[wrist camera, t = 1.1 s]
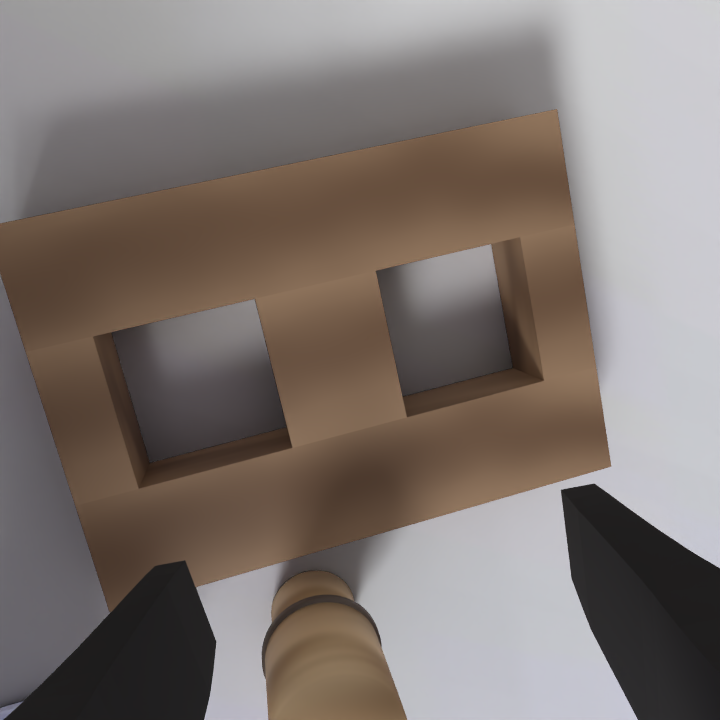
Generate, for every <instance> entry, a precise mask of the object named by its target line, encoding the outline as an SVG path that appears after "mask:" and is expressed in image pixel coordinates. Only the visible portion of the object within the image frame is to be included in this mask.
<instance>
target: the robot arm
mask: <svg viewBox="0 0 720 720" xmlns="http://www.w3.org/2000/svg"><path fill="white" fill-rule="evenodd" d="M561 494H562V502H563V511H564V519H565V527H566V535H567V544H568V552H569V560H570V569H571V577H572V581H573V583H574V586H575V589H576V591H577V594H578V597H579V599H580V602H581V605H582V607H583V610H584V613H585V615H586V618H587V620H588V623H589V625H590V628H591V630H592V632H593V634H594V636H595V638H596V640H597V642H598V644H599V646H600V648H601V650H602V652H603V654H604V655H605V657H606V659H607V661H608V663H609V665H610V667H611V669H612V671H613V673H614V675H615V677H616V679H617V680H618V682H619V684H620V686H621V688H622V690H623V692H624V694H625V696H626V698H627V700H628V701H629V703H630V705H631V707H632V709H633V711H634V713H635V715H636V717H637V719H638V720H720V568H718V567H716V566H715V565H713V564H711V563H710V562H708V561H706V560H705V559H703V558H701V557H699V556H698V555H696V554H694V553H693V552H691V551H690V550H688V549H687V548H685V547H684V546H682V545H681V544H679V543H678V542H676V541H675V540H673V539H672V538H670V537H669V536H667V535H666V534H664V533H663V532H661V531H659V530H658V529H657V528H655V527H654V526H652V525H651V524H649V523H648V522H647V521H645V520H644V519H642V518H641V517H640V516H638V515H637V514H635V513H634V512H633V511H631V510H630V509H629V508H627V507H626V506H624V505H623V504H622V503H620V502H619V501H618V500H616V499H615V498H614V497H612V496H611V495H610V494H608V493H607V492H605V491H604V490H603V489H601V488H600V487H598V486H597V485H595V484H590V485H584V486H579V487H574V488H568V489H563V490H561ZM215 649H216V640H215V637H214V634H213V632H212V629H211V627H210V624H209V621H208V619H207V616H206V613H205V611H204V608H203V606H202V603H201V600H200V598H199V595H198V592H197V590H196V587H195V584H194V582H193V579H192V577H191V574H190V571H189V569H188V566H187V563H186V561H185V560H184V561H178V562H173V563H168V564H162V565H157V566H154V567H153V568H152V569H151V570H150V571H149V572H148V573H147V574H146V575H145V576H144V577H143V578H142V579H141V580H140V581H139V582H138V583H137V584H136V586H135V587H134V588H133V589H132V590H131V591H130V592H129V593H128V594H127V595H126V596H125V598H124V599H123V600H122V601H121V602H120V603H119V604H118V605H117V606H116V607H115V608H114V610H113V611H112V612H111V613H110V614H109V615H108V616H107V617H106V618H105V619H104V620H103V621H102V623H101V624H100V625H99V626H98V627H97V628H96V629H95V630H94V631H93V632H92V633H91V634H90V635H89V637H88V638H87V639H86V640H85V641H84V642H83V643H82V644H81V645H80V646H79V647H78V648H77V649H76V650H75V651H74V652H73V653H72V654H71V655H70V656H69V657H68V658H67V659H66V660H65V661H64V662H63V663H62V664H61V665H60V666H59V667H58V668H57V669H56V670H55V671H54V672H53V673H52V674H51V675H50V676H49V677H48V678H47V679H46V680H45V681H44V682H43V683H42V684H41V685H40V686H39V687H38V688H37V689H36V690H35V691H34V692H33V693H32V694H31V695H30V696H29V697H28V698H27V699H26V700H24V701H22V702H19V703H15V704H12V705H9V706H5V707H2V708H0V720H204V717H205V713H206V709H207V705H208V701H209V697H210V691H211V683H212V676H213V668H214V659H215Z"/></svg>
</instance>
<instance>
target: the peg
mask: <svg viewBox="0 0 720 720" xmlns="http://www.w3.org/2000/svg"><path fill="white" fill-rule="evenodd" d="M271 617H272V624H271V626H270V627H269V629H268V631H267V633H266V636H265V638H264V642H263V646H262V667H263V672H264V676H265V679H266V688H267V704H268V720H407V718H406V714H405V711H404V709H403V706H402V703H401V700H400V698H399V695H398V692H397V689H396V687H395V684H394V681H393V678H392V676H391V673H390V670H389V667H388V665H387V662H386V659H385V656H384V654H383V651H382V648H381V639H380V635H379V632H378V629H377V627H376V624H375V622H374V620H373V619H372V617H371V616H370V614H369V613H368V612H367V611H366V610H365V609H364V608H363V607H362V606H361V605H359V604H358V603H356V602H355V601H354V598H353V595H352V592H351V590H350V588H349V587H348V585H347V584H346V583H345V582H344V581H343V580H342V579H341V578H339V577H338V576H336V575H334V574H332V573H329V572H326V571H307V572H303V573H300V574H298V575H296V576H294V577H292V578H291V579H289V580H288V581H287V582H286V583H284V584H283V585H282V587H281V588H280V589H279V590H278V592H277V594H276V596H275V598H274V600H273V604H272V610H271Z"/></svg>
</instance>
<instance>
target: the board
mask: <svg viewBox="0 0 720 720" xmlns="http://www.w3.org/2000/svg"><path fill="white" fill-rule="evenodd" d="M488 244H491V246H492V252H493V257H494V263H495V269H496V274H497V280H498V286H499V291H500V297H501V303H502V308H503V314H504V320H505V325H506V331H507V337H508V342H509V348H510V353H511V359H512V365H513V368H511V369H507V370H504V371H500V372H496V373H492V374H488V375H484V376H481V377H477V378H473V379H469V380H465V381H461V382H458V383H454V384H450V385H446V386H442V387H439V388H435V389H431V390H427V391H423V392H419V393H416V394H412V395H408V396H404V397H402V392H401V388H400V383H399V378H398V373H397V369H396V364H395V359H394V355H393V350H392V345H391V340H390V336H389V331H388V326H387V322H386V317H385V312H384V307H383V303H382V298H381V293H380V289H379V284H378V279H377V274H376V270H381V269H385V268H389V267H394V266H398V265H402V264H407V263H411V262H415V261H419V260H424V259H428V258H432V257H437V256H441V255H445V254H450V253H454V252H458V251H462V250H467V249H471V248H475V247H480V246H484V245H488ZM0 274H1V277H2V280H3V283H4V286H5V289H6V293H7V296H8V299H9V302H10V305H11V308H12V311H13V314H14V317H15V320H16V324H17V327H18V330H19V333H20V336H21V339H22V342H23V345H24V348H25V351H26V355H27V358H28V361H29V364H30V367H31V370H32V373H33V376H34V379H35V382H36V386H37V389H38V392H39V395H40V398H41V401H42V404H43V407H44V410H45V413H46V417H47V420H48V423H49V426H50V429H51V432H52V435H53V438H54V441H55V444H56V448H57V451H58V454H59V457H60V460H61V463H62V466H63V469H64V472H65V475H66V478H67V482H68V485H69V488H70V491H71V494H72V497H73V500H74V503H75V506H76V509H77V513H78V516H79V519H80V522H81V525H82V528H83V531H84V534H85V537H86V540H87V544H88V547H89V550H90V553H91V556H92V559H93V562H94V565H95V568H96V571H97V575H98V578H99V581H100V584H101V587H102V590H103V593H104V596H105V599H106V602H107V606H108V609H109V612H112V611H113V610H114V608H115V607H116V606H117V605H118V604H119V603H120V602H121V601H122V600H123V599H124V598H125V596H126V595H127V594H128V593H129V592H130V591H131V590H132V589H133V588H134V587H135V586H136V584H137V583H138V582H139V581H140V580H141V579H142V578H143V577H144V576H145V575H146V574H147V573H148V572H149V571H150V570H151V569H152V568H153V567H154V566H157V565H162V564H168V563H173V562H178V561H184V560H185V561H186V563H187V566H188V569H189V571H190V574H191V577H192V579H193V582H194V584H195V587H198V586H201V585H205V584H208V583H211V582H215V581H218V580H222V579H225V578H229V577H232V576H236V575H239V574H242V573H246V572H249V571H253V570H256V569H260V568H263V567H267V566H270V565H273V564H277V563H280V562H284V561H287V560H291V559H294V558H298V557H301V556H304V555H308V554H311V553H315V552H318V551H322V550H325V549H329V548H332V547H335V546H339V545H342V544H346V543H349V542H353V541H356V540H360V539H363V538H366V537H370V536H373V535H377V534H380V533H384V532H387V531H391V530H394V529H397V528H401V527H404V526H408V525H411V524H415V523H418V522H422V521H425V520H428V519H432V518H435V517H439V516H442V515H446V514H449V513H453V512H456V511H459V510H463V509H466V508H470V507H473V506H477V505H480V504H484V503H487V502H490V501H494V500H497V499H501V498H504V497H508V496H511V495H515V494H518V493H522V492H525V491H528V490H532V489H535V488H539V487H542V486H546V485H549V484H553V483H556V482H559V481H563V480H566V479H570V478H573V477H577V476H580V475H584V474H587V473H590V472H594V471H597V470H601V469H604V468H608V467H611V462H610V455H609V448H608V442H607V435H606V429H605V422H604V415H603V409H602V402H601V396H600V389H599V383H598V376H597V369H596V363H595V356H594V350H593V343H592V336H591V330H590V323H589V317H588V310H587V303H586V297H585V290H584V284H583V277H582V270H581V264H580V257H579V251H578V244H577V237H576V231H575V224H574V218H573V211H572V204H571V198H570V191H569V185H568V178H567V172H566V165H565V158H564V152H563V145H562V139H561V132H560V125H559V119H558V112H557V109H555V110H551V111H546V112H541V113H536V114H531V115H526V116H521V117H517V118H512V119H507V120H502V121H497V122H492V123H487V124H482V125H478V126H473V127H468V128H463V129H458V130H453V131H448V132H443V133H439V134H434V135H429V136H424V137H419V138H414V139H409V140H404V141H400V142H395V143H390V144H385V145H380V146H375V147H370V148H366V149H361V150H356V151H351V152H346V153H341V154H336V155H331V156H327V157H322V158H317V159H312V160H307V161H302V162H297V163H292V164H288V165H283V166H278V167H273V168H268V169H263V170H258V171H253V172H249V173H244V174H239V175H234V176H229V177H224V178H219V179H215V180H210V181H205V182H200V183H195V184H190V185H185V186H180V187H176V188H171V189H166V190H161V191H156V192H151V193H146V194H141V195H137V196H132V197H127V198H122V199H117V200H112V201H107V202H102V203H98V204H93V205H88V206H83V207H78V208H73V209H68V210H64V211H59V212H54V213H49V214H44V215H39V216H34V217H29V218H25V219H20V220H15V221H10V222H5V223H0ZM252 299H255V302H256V306H257V310H258V314H259V318H260V322H261V326H262V330H263V334H264V338H265V342H266V346H267V350H268V354H269V358H270V362H271V366H272V370H273V374H274V378H275V382H276V386H277V390H278V394H279V398H280V402H281V406H282V410H283V414H284V418H285V422H286V426H287V427H286V428H282V429H278V430H274V431H270V432H267V433H263V434H259V435H255V436H251V437H247V438H244V439H240V440H236V441H232V442H228V443H225V444H221V445H217V446H213V447H209V448H205V449H202V450H198V451H194V452H190V453H186V454H182V455H179V456H175V457H171V458H167V459H163V460H160V461H156V462H152V463H150V462H149V459H148V455H147V452H146V449H145V445H144V442H143V438H142V435H141V432H140V428H139V425H138V421H137V418H136V415H135V411H134V408H133V405H132V401H131V398H130V394H129V391H128V388H127V384H126V381H125V377H124V374H123V371H122V367H121V364H120V361H119V357H118V354H117V350H116V347H115V344H114V340H113V337H112V333H111V332H114V331H118V330H123V329H127V328H131V327H136V326H140V325H144V324H148V323H153V322H157V321H161V320H166V319H170V318H174V317H179V316H183V315H187V314H191V313H196V312H200V311H204V310H209V309H213V308H217V307H222V306H226V305H230V304H234V303H239V302H243V301H247V300H252Z"/></svg>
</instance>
